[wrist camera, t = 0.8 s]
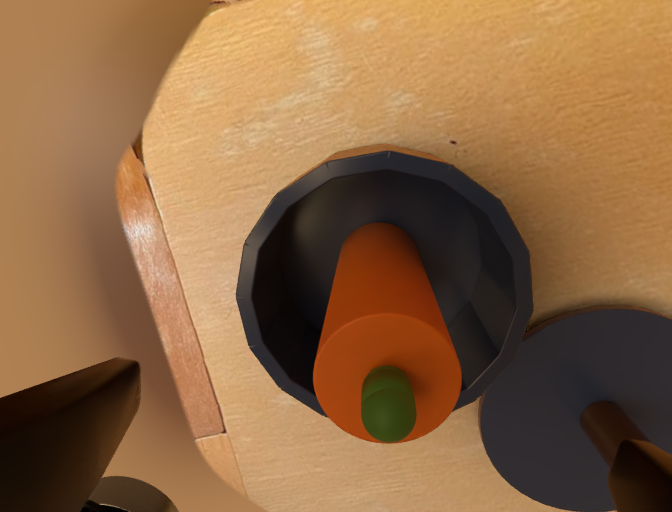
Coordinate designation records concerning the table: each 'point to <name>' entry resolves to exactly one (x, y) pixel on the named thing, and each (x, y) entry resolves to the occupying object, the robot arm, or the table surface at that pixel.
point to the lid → (579, 403)
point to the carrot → (385, 342)
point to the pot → (432, 244)
